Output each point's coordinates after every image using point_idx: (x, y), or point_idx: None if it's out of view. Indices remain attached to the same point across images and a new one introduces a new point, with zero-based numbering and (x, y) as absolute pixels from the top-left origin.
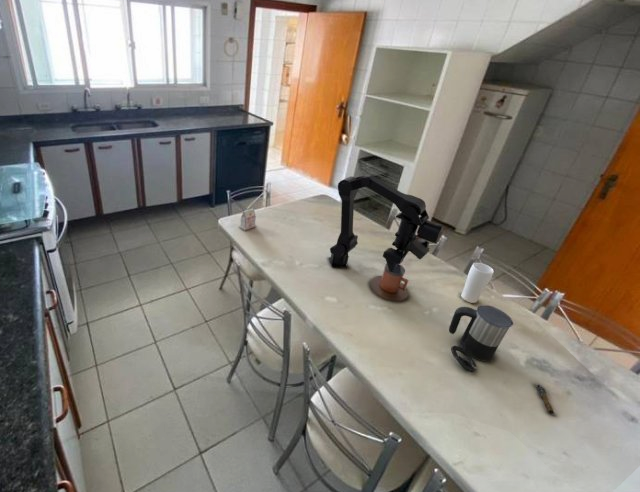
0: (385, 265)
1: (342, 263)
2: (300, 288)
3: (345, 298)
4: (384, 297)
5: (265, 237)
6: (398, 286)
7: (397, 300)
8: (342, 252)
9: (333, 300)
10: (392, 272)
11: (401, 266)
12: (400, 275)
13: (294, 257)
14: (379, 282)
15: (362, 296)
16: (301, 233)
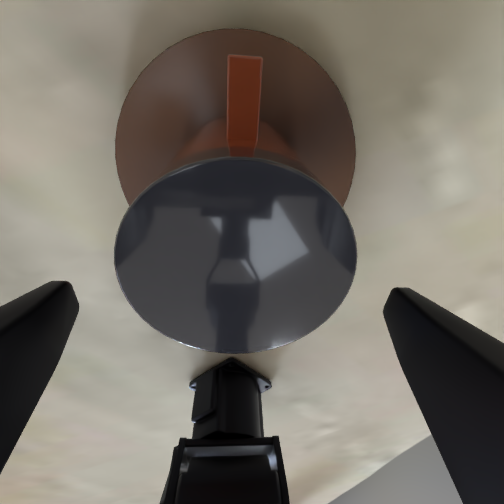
0: (271, 348)
1: (241, 383)
2: None
3: (440, 289)
4: (354, 164)
5: None
6: (264, 127)
7: (330, 81)
8: (284, 474)
9: (473, 311)
10: (353, 269)
11: (135, 238)
12: (316, 177)
13: (305, 443)
14: None
15: (389, 248)
16: None
